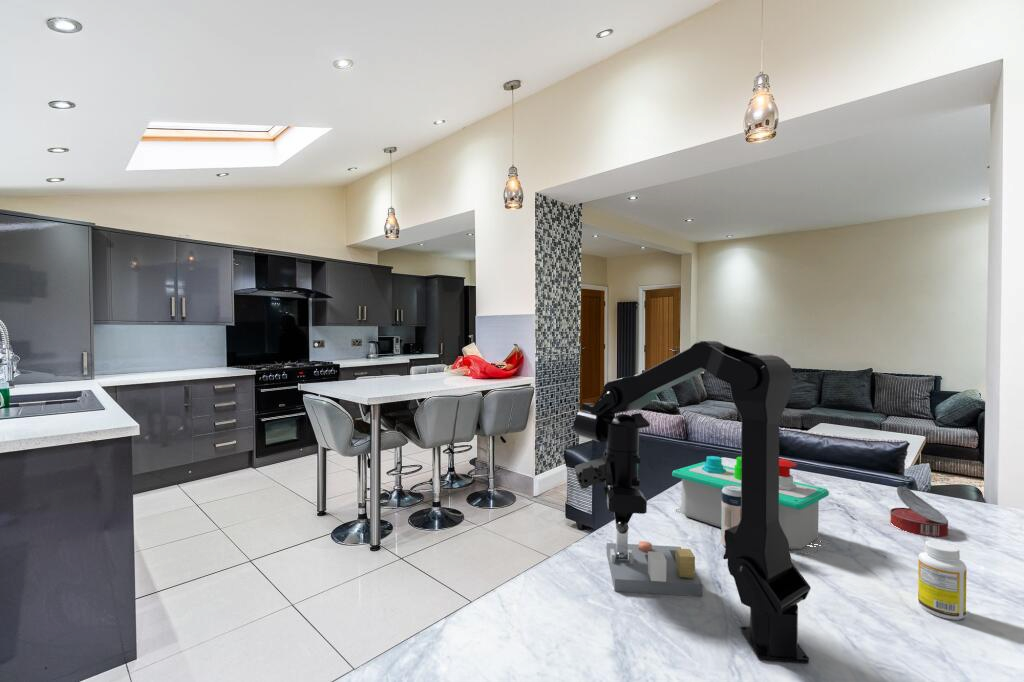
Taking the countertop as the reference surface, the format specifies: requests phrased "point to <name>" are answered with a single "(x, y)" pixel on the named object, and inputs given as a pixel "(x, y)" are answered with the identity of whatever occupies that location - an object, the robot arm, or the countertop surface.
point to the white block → (657, 566)
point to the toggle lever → (622, 540)
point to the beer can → (730, 508)
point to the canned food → (918, 516)
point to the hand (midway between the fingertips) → (620, 531)
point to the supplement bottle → (942, 581)
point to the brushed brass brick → (685, 563)
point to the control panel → (712, 476)
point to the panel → (635, 571)
